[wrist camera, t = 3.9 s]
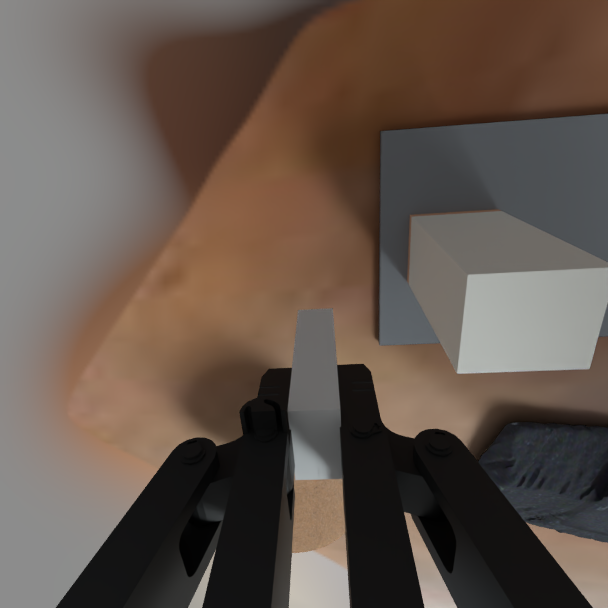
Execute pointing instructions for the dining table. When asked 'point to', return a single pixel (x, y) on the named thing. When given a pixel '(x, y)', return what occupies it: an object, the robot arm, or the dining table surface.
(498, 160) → the mat
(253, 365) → the dining table surface
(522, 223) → the block
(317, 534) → the lidded jar
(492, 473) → the dark slate chunk
